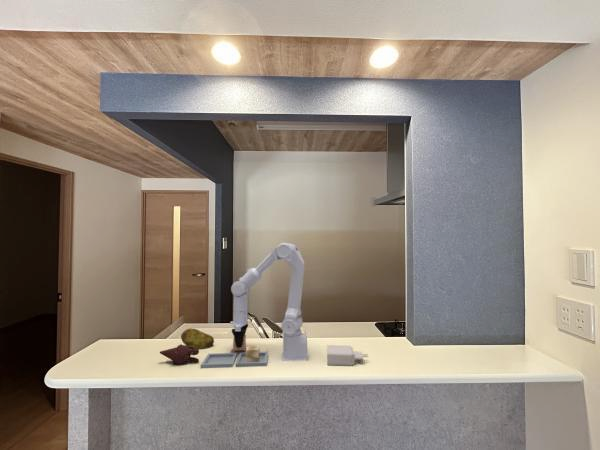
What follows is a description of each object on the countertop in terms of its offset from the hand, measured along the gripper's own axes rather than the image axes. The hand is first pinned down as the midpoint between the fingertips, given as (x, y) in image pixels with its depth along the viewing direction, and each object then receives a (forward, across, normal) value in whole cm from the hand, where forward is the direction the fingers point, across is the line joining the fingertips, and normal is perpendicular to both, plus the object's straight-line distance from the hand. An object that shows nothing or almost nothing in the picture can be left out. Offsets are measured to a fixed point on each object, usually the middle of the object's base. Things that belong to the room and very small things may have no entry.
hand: (240, 344), depth 116 cm
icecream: (+3, +10, -21) cm, 23 cm away
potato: (+3, -7, -19) cm, 20 cm away
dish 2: (+3, +10, +6) cm, 12 cm away
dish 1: (+3, +10, -6) cm, 12 cm away
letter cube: (+1, 0, 0) cm, 1 cm away
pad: (+3, 0, 0) cm, 3 cm away
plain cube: (+3, +10, +6) cm, 12 cm away
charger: (+3, +13, +41) cm, 43 cm away
